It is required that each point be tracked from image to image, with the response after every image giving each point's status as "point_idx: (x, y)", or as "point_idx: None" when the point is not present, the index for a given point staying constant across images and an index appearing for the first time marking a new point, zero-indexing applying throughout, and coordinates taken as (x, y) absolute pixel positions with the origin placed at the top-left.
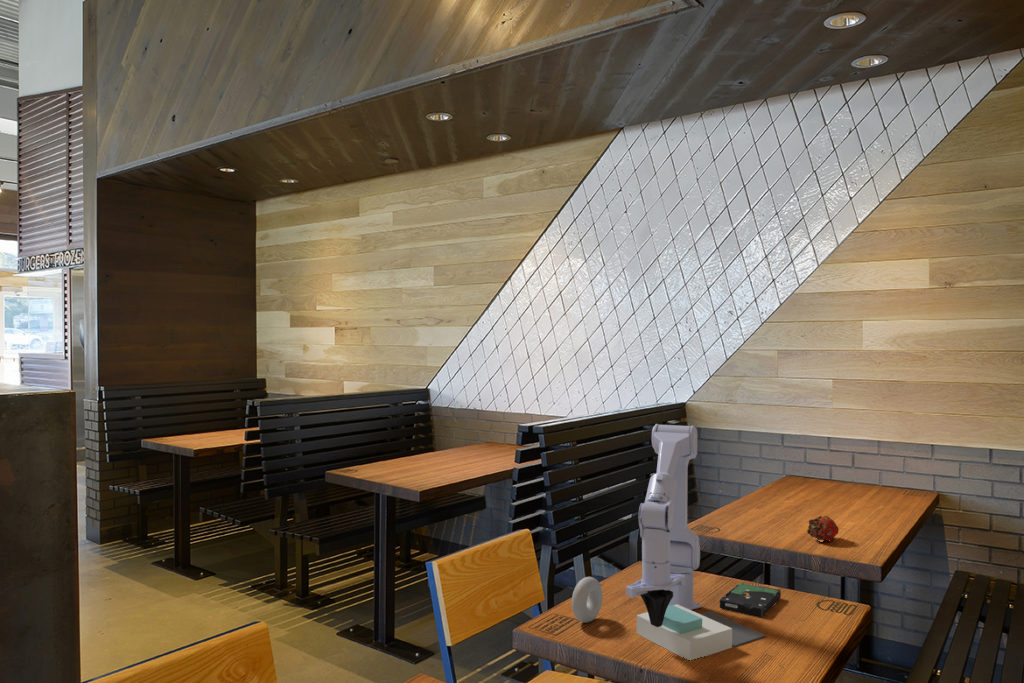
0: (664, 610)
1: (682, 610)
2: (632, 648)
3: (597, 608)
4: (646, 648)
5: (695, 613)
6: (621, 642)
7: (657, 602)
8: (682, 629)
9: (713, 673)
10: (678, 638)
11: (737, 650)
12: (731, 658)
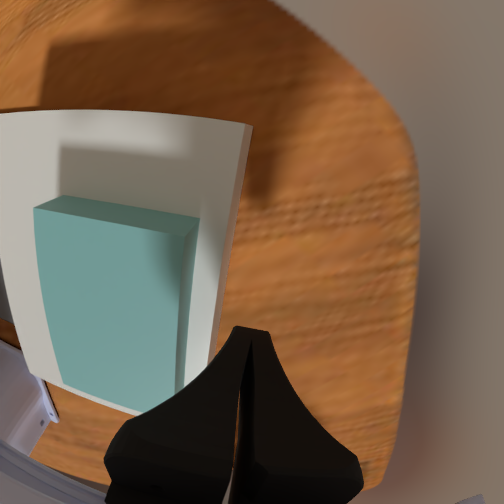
0: (221, 375)
1: (54, 329)
2: (316, 341)
3: (229, 486)
4: (281, 312)
5: (12, 298)
6: (301, 382)
7: (327, 444)
8: (182, 223)
9: (273, 9)
10: (231, 211)
11: (49, 87)
12: (109, 49)
